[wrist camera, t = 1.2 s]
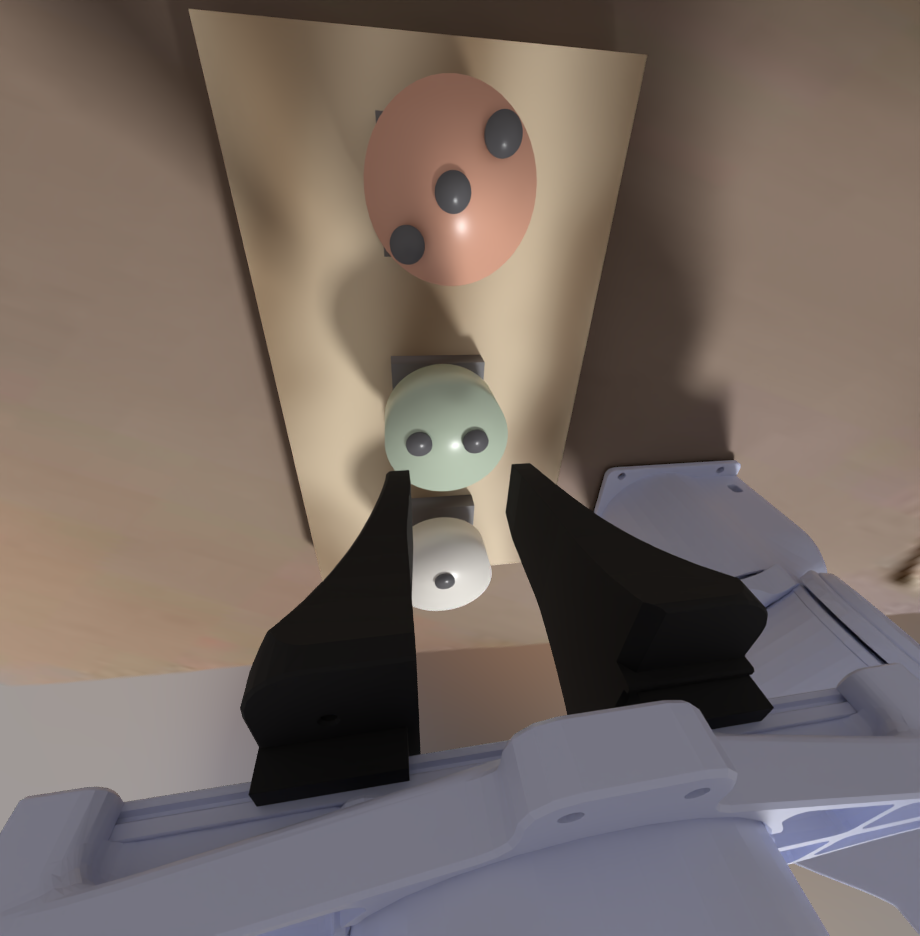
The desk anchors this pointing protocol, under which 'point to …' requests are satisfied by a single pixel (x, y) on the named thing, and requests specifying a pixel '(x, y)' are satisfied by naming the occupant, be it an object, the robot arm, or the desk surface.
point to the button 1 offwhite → (448, 564)
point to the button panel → (380, 277)
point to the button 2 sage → (444, 428)
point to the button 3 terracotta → (450, 179)
